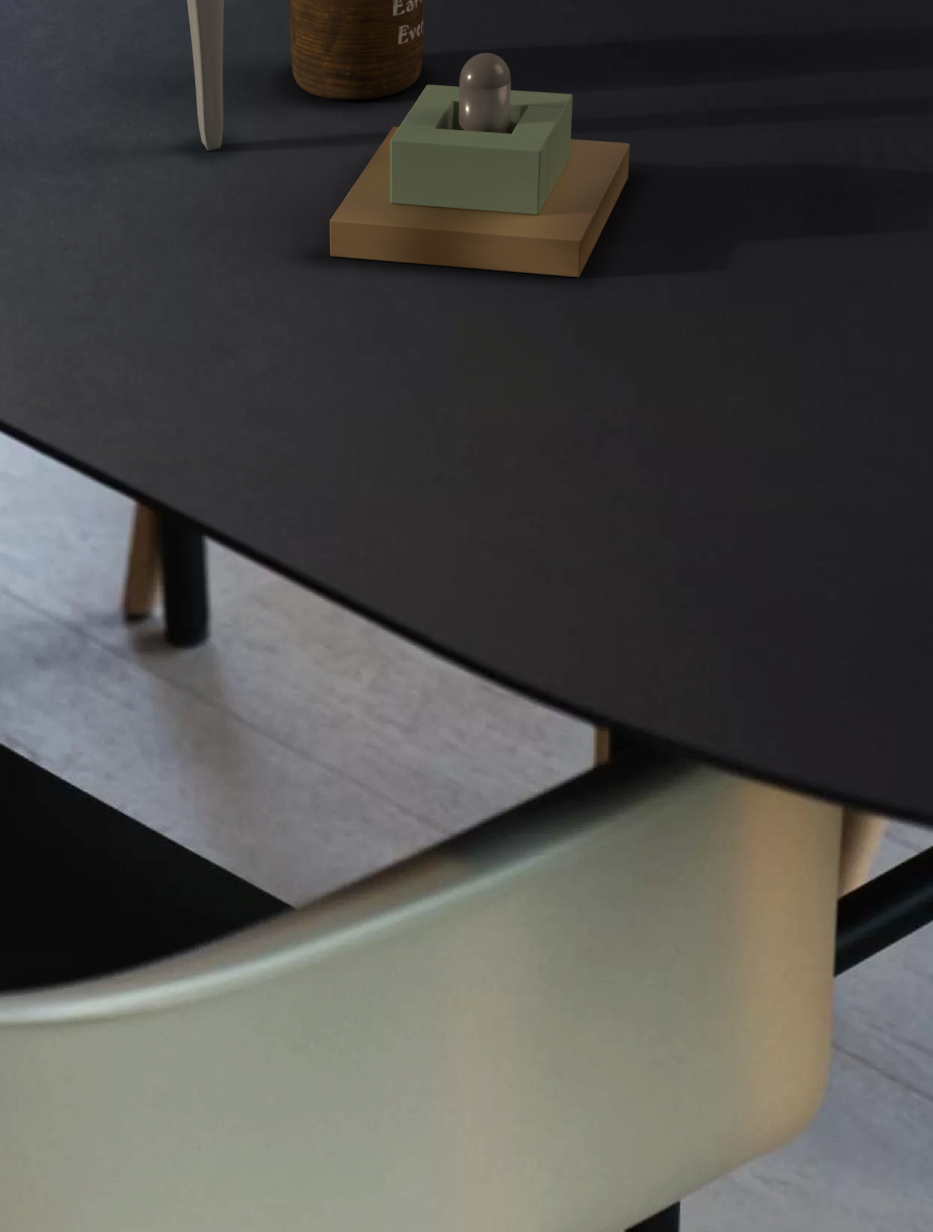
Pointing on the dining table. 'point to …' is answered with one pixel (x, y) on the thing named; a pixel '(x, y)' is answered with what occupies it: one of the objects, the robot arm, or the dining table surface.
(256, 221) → the dining table surface
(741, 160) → the dining table surface
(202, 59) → the pen
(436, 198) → the green square ring block
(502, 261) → the base pad
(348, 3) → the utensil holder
